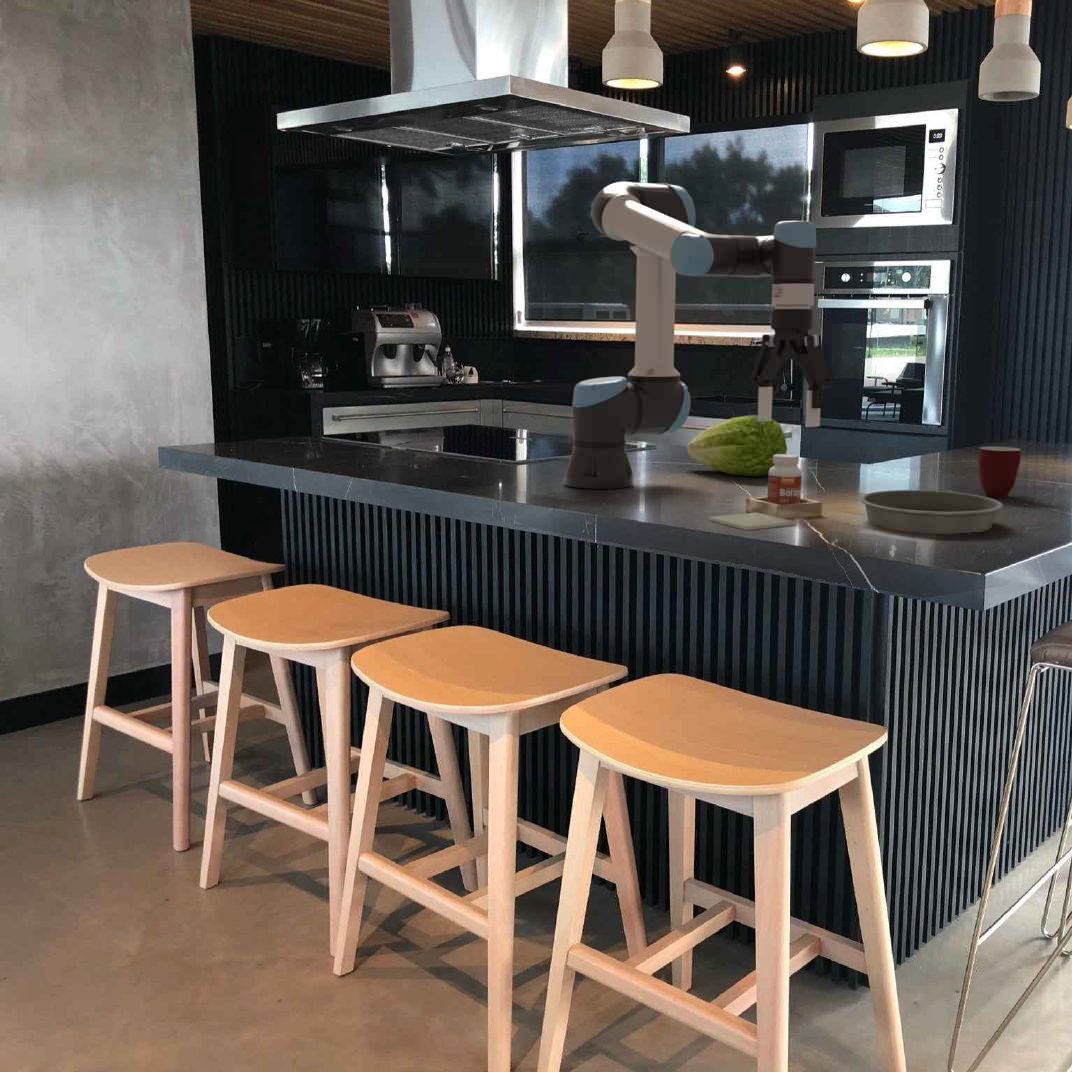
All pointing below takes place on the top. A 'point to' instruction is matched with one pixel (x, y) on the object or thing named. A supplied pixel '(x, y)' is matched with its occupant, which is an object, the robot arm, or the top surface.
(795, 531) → the top surface
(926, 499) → the cake pan
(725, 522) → the coaster
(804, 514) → the pocket frame
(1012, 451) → the mug
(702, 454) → the lettuce
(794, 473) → the pill bottle
